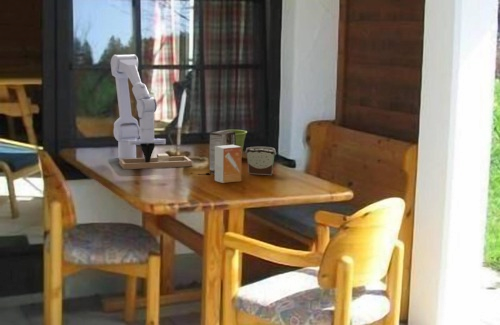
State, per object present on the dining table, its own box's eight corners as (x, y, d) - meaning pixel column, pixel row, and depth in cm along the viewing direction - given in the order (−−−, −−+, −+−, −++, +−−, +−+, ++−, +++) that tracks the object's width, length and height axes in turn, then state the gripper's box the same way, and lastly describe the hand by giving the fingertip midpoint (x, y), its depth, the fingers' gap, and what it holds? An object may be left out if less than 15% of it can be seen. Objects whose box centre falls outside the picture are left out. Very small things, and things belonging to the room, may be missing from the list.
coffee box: (223, 170, 354) (223, 129, 351) (236, 172, 350) (236, 131, 348) (208, 173, 347) (208, 132, 344) (222, 175, 343) (222, 133, 340)
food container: (280, 172, 350) (280, 147, 348) (275, 175, 344) (275, 149, 342) (250, 170, 354) (250, 145, 352) (245, 173, 348) (245, 147, 346)
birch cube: (156, 163, 359) (156, 154, 358) (166, 163, 360) (166, 153, 360) (158, 165, 355) (158, 155, 355) (168, 165, 356) (168, 155, 356)
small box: (223, 183, 328) (223, 148, 326) (214, 180, 333) (214, 146, 331) (241, 181, 332) (242, 146, 330) (232, 178, 338) (232, 144, 335)
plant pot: (214, 159, 380) (214, 132, 378) (226, 154, 391) (226, 129, 389) (240, 161, 376) (240, 134, 374) (251, 156, 386) (251, 130, 385)
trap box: (119, 167, 359) (119, 158, 359) (185, 164, 367) (185, 156, 366) (123, 172, 348) (123, 163, 347) (191, 169, 355) (191, 160, 355)
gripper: (130, 130, 348) (130, 165, 350) (167, 129, 352) (167, 163, 354) (127, 128, 355) (128, 162, 357) (163, 127, 358) (164, 160, 361)
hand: (147, 162), depth 356 cm, fingers closed
